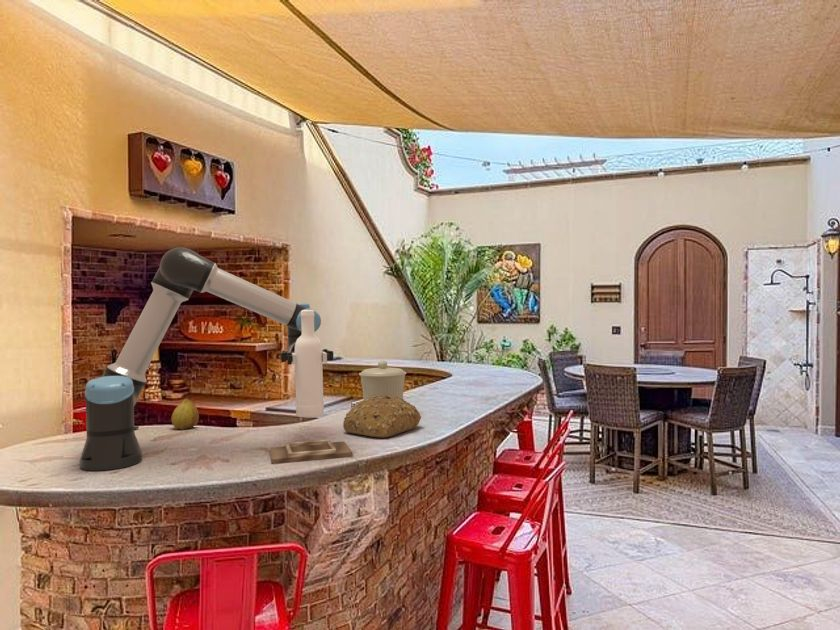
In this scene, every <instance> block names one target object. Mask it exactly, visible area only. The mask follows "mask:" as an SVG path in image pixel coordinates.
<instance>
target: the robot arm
mask: <svg viewBox="0 0 840 630" xmlns="http://www.w3.org/2000/svg"><path fill="white" fill-rule="evenodd" d="M150 284H151V287H152V293H151V294H150V296H149V297H148V299H147V301H146V303H145V306H144V308H143V310H142V311H141V314H140V316H139V317H138V319H137V321H136V323H135V325H134V327H133V328H132V330H131V332H130V334H129V336H128V337H127V340H126V342H125V344H124V346H123V347H122V350H121V352H119V353H120V354H119V356H118V357H117V359H116V361H115V362H114V363H110V364H108V365H107V366H106V367H105V370H104V372H103V374H102V375H101V376H100V377H97V378H91V380H89V381H88V382H87V383H86V384H85V390H84V396H85V415H86V416H85V424H86V429H85V430H86V440H85V443H84V446H83V448H82V451H81V454H80V459H79V468H80V469H81V470H84V471H91V472H92V471H93V472H94V471H95V472H96V471H110V470H111V471H112V470H117V469H122V468H127V467H130V466H134V465H137V464H139V463H141V462H142V461H143V451H142V449H141V447H140V443H139V441H138V438H137V437H136V434H135V430H134V427H135V406H136V405H137V403H138V400H139V398H140V397H139V396H140V395H141V393H142V391H143V389H144V387H145V385H146V383H147V381H148V380H147V378H146V371H147V370H148V368H149V366H150V363H151V362H152V360H153V358H154V356H155V355H156V352H157V350H158V348H159V346H160V344H161V343H162V340H163V339H164V337H165V335H166V333H167V332H168V331H167V330H168V329H169V327H170V325H171V323H172V321H173V319H174V318H175V315H176V314H177V311H178V310H179V308H180V306H181V304H182V303H183V302H186V301H189V299H190V297H191V296H192V293H193V292H194V291H196V292H198V293H201V294H202V293H203V294H204V293H205V292H207V293H209V294H212V295H214V296H216V297H219V298H220V299H224V300H225V301H227V302H230V303H232V304H235V305H237V306H240V307H242V308H244V309H247V310H249V311H252V312H254V313H256V314H258V315H260V316H263V317H265V318H267V319H270V320H273V321H275V322H278V323H279V324H282V325H284V326H286V327H287V328H286V329H287V347H286V348H287V349H286V350H281V353H280V362H281V363H285V362H287V365H292V364H293V365H295V364H296V354H295V344H296V341H297V339H298V338H299V337H300V336H301V335H302V328H301V311H302V310H313V311H314V315H315V316H314V333H315V332H317V331H318V330H319V328H320V327H321V325H322V318H321V316H320V313H319V312H317V311H316V310H314V309H312V308H310V307H311V306H310V303H307V302H304V303H303V302H301V303H297V302H294V301H293V300H290V299H288V298H285V297H283V296H281V295H279V294H276V293H275V292H272V291H269V290H267V289H265V288H263V287H261V286H259V285H257V284H254V283H253V282H249V281H247V280H246V279H244V278H241V277H239V276H236V275H235V274H232V273H231V272H230V273H229V272H227V271H226V270H223V269H221V268H219V267H218V265H217V264H216V262H214V261H212V260H210V259H208V258H205V257H204V256H202V255H200V254H199V253H197V252H196V251H194V250H192V249H190V248H187V247H182V246H181V247H175V248H171V249H170V250H168V251H167V252H166V253H165V254H163V256H162V258H161V260H160V263H159V268H158V269H157V271H156V273H155V275H154V277H153V278H152V281H151V282H150ZM333 360H334V351H333V350H328V349H327V348H324V349H322V363H324V364H328V361H333Z"/></svg>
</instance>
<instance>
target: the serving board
mask: <svg viewBox="0 0 840 630" xmlns="http://www.w3.org/2000/svg"><path fill="white" fill-rule="evenodd" d="M353 454H354V453H353V451H352V449H351V448H350V447H349V446H348V444H347V442H345V441H342V440H341V441H333V442H332V441H331V439H321V440H309V441H297V442H285V443H284V445H283V446H273V447H269V456H270V457H269V458H270V461H271V465H273V464H274V465H275V464H285V463H286V464H287V463H294V462H297V463H298V462H308V461H317V460H319V461H320V460H326V459H327V460H329V459H339V458H340V459H341V458H350V457H353Z"/></svg>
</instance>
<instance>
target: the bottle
mask: <svg viewBox="0 0 840 630" xmlns="http://www.w3.org/2000/svg"><path fill="white" fill-rule="evenodd" d="M313 310H314V309H313ZM313 310H302V311H301V328H302V335H301V336H300V337H299V338H298V339H297V341H296V344H295V354H296V364H294V377H295V378H294V379H295V380H294V383H295V413H296V414H295V416H297V418H298V417H299V418H315V417H321V416H323V415H324V409H325V403H324V376H323V374H324V373H323V367H324V366H323V362H322V350H323V345H322V342H321V340H320V338H319V337H318V336H317V335H316V334H315V332H314V316H315V315H314V311H315V310H314V311H313Z"/></svg>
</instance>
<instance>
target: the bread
mask: <svg viewBox="0 0 840 630" xmlns="http://www.w3.org/2000/svg"><path fill="white" fill-rule="evenodd" d="M356 403H357V404H356V405H354V406H353V407H351V408H350V410H349V411H348V412H347V413H346V414H345V417H344V419H343V424H342V426H343V430H344V432H346V433H349V434H352V435H353V434H354V435H361V436H368V437H370V438H378V439H379V438H380V439H385V438H389V437H393V436H396V435H398V434H402V433H405V432H408V431H410V430H413V429H416V427H417V426H418V425H419V423H420V421H421V418H422V416H421V414H420V412H419V410H418V408H417V407H416V406H415V405H413V404H411V403H410V402H409V401H406V400H405V399H404V398H403V399H402V398H398V397H397V396H395V397H394V396H392V395H391V396H389V395H376V396H373V397H369V398H367V399H366V400H364V399H363V400H361V401H359V402H356Z"/></svg>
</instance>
